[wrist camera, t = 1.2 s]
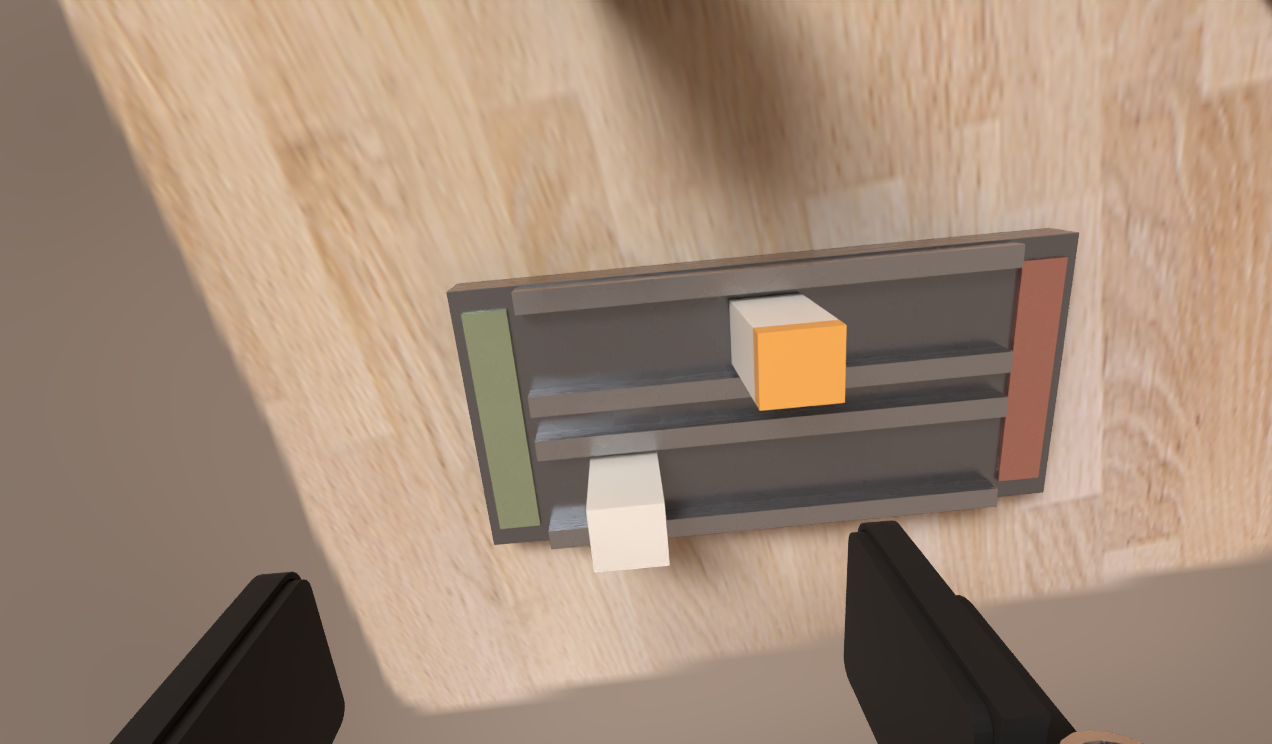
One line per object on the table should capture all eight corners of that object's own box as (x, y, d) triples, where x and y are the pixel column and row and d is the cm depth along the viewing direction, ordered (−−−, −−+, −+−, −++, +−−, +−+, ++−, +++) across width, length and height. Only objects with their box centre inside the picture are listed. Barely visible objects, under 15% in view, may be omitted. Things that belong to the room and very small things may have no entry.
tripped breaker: (800, 292, 28) (846, 324, 22) (800, 356, 29) (845, 402, 23) (728, 299, 28) (757, 333, 22) (731, 363, 29) (759, 410, 23)
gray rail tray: (1048, 228, 29) (1095, 235, 26) (1018, 473, 33) (1056, 502, 31) (457, 283, 29) (440, 296, 26) (501, 523, 33) (490, 556, 30)
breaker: (656, 449, 30) (664, 503, 25) (661, 503, 31) (669, 565, 26) (590, 455, 30) (586, 510, 25) (597, 509, 31) (594, 572, 26)
